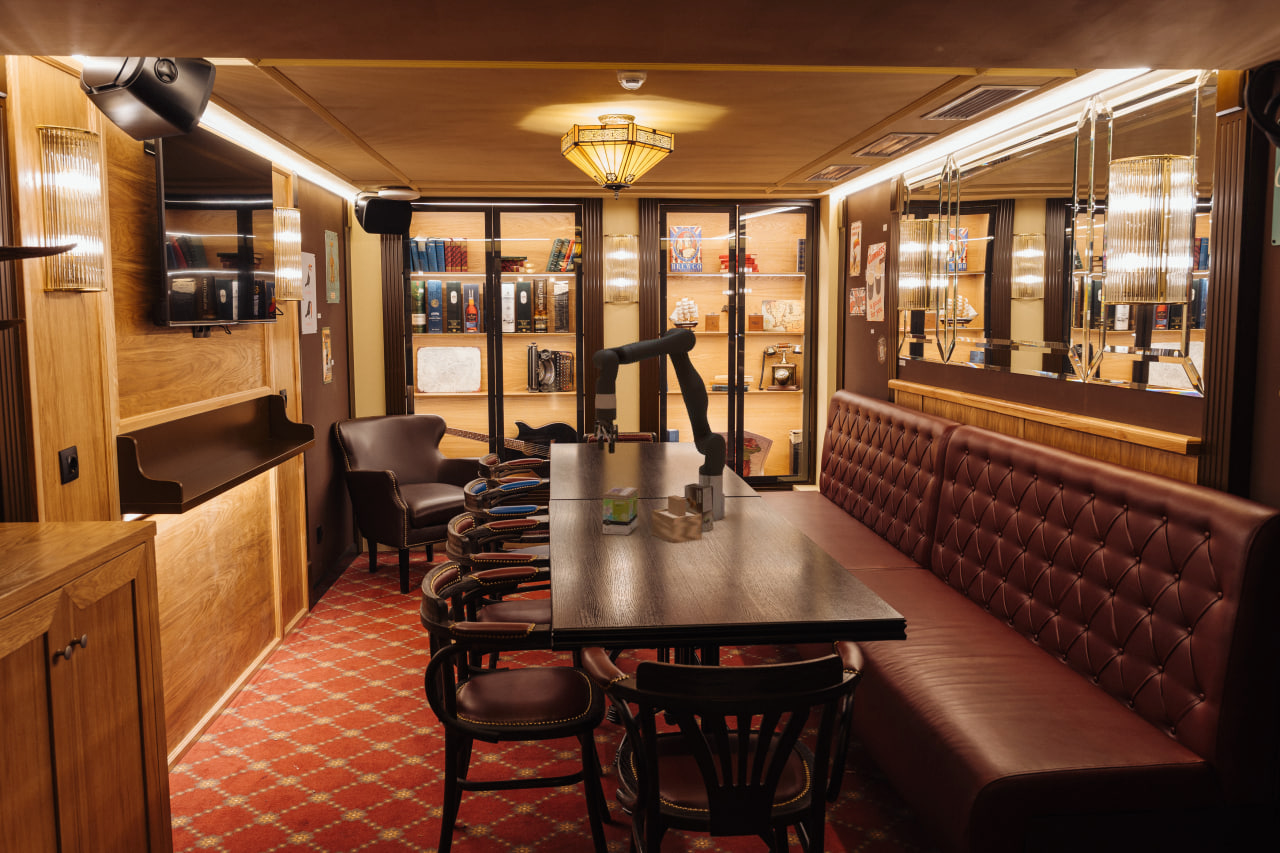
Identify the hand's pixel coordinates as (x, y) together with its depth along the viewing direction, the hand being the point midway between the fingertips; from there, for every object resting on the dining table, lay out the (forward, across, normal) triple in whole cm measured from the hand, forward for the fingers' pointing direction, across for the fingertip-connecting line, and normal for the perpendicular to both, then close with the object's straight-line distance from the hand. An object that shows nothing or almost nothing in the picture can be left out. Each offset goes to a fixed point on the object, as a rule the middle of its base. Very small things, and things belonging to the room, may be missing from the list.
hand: (606, 451), depth 315 cm
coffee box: (+30, -12, -32) cm, 45 cm away
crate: (+29, -18, -19) cm, 39 cm away
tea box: (+30, 0, -6) cm, 30 cm away
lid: (+22, -18, -19) cm, 34 cm away
